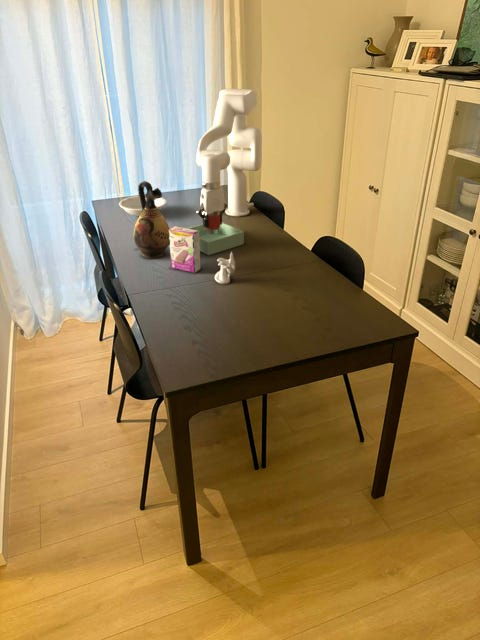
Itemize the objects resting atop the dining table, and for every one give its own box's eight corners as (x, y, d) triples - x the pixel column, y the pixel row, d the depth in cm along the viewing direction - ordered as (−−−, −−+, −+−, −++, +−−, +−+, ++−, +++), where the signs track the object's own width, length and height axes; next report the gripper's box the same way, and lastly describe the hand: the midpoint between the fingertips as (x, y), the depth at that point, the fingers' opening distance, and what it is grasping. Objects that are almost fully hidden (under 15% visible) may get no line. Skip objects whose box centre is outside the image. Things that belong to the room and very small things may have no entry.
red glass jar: (214, 227, 221) (213, 206, 216) (223, 231, 216) (223, 209, 211) (202, 231, 217) (201, 209, 212) (211, 235, 213) (210, 212, 207)
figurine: (211, 279, 188) (210, 249, 182) (229, 274, 191) (229, 246, 185) (224, 290, 180) (224, 260, 174) (242, 286, 183) (243, 256, 177)
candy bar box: (170, 268, 196) (167, 229, 187) (177, 264, 200) (174, 225, 191) (195, 273, 192) (193, 234, 183) (201, 269, 196) (199, 229, 187)
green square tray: (217, 231, 231) (216, 220, 228) (243, 244, 218) (244, 231, 215) (182, 241, 220) (181, 229, 218) (208, 255, 208) (208, 242, 205)
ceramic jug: (179, 253, 209) (175, 183, 194) (150, 264, 199) (143, 191, 184) (154, 243, 219) (148, 175, 204) (125, 253, 209) (117, 182, 194)
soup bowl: (177, 212, 255) (176, 200, 252) (146, 226, 238) (144, 212, 234) (142, 204, 266) (141, 192, 263) (110, 217, 249) (108, 204, 246)
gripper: (200, 190, 199) (201, 232, 208) (233, 183, 209) (233, 223, 218) (189, 186, 204) (191, 227, 213) (222, 179, 214) (222, 219, 223)
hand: (212, 225), depth 215 cm, fingers closed on red glass jar, 6 cm apart
